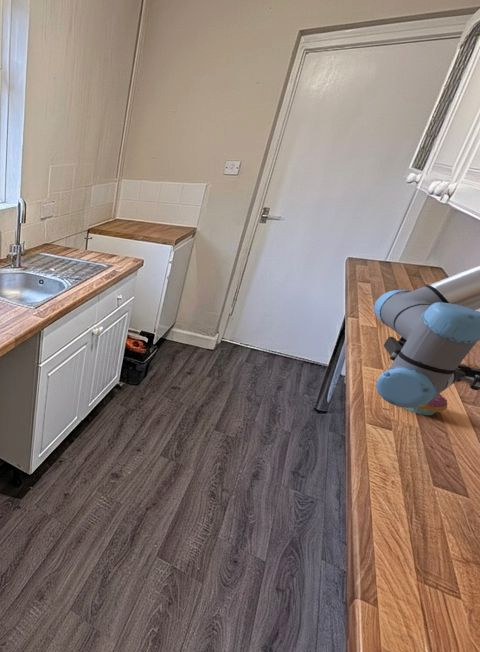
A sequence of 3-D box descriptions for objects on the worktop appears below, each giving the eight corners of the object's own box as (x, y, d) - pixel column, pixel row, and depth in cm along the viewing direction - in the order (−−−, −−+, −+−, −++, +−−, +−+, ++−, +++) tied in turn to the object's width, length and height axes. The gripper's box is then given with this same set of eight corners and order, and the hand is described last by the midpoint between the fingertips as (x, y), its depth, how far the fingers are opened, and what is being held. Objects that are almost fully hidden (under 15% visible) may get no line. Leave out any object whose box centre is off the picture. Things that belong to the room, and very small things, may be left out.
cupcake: (395, 416, 105) (416, 375, 101) (389, 400, 112) (408, 361, 107) (443, 428, 101) (467, 386, 96) (433, 411, 107) (455, 371, 103)
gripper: (343, 360, 94) (377, 345, 105) (507, 424, 75) (528, 398, 86) (360, 331, 91) (393, 318, 101) (534, 390, 72) (553, 367, 82)
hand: (455, 354), depth 94 cm, fingers open, 13 cm apart
